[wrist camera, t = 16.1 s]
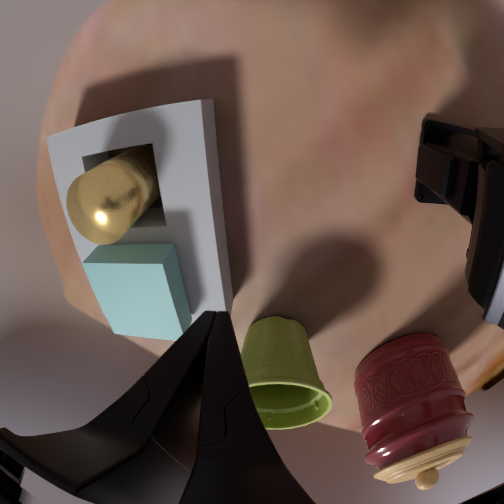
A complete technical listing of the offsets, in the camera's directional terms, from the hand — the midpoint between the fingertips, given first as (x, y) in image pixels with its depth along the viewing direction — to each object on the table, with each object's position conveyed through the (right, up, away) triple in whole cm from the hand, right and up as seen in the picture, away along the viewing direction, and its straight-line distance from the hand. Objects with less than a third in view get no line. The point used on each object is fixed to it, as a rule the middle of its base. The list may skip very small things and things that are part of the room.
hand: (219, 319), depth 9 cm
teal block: (-7, 0, +11) cm, 13 cm away
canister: (+20, -12, +21) cm, 31 cm away
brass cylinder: (-7, +8, +10) cm, 15 cm away
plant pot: (+4, -6, +18) cm, 20 cm away
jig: (-7, +5, +12) cm, 15 cm away
